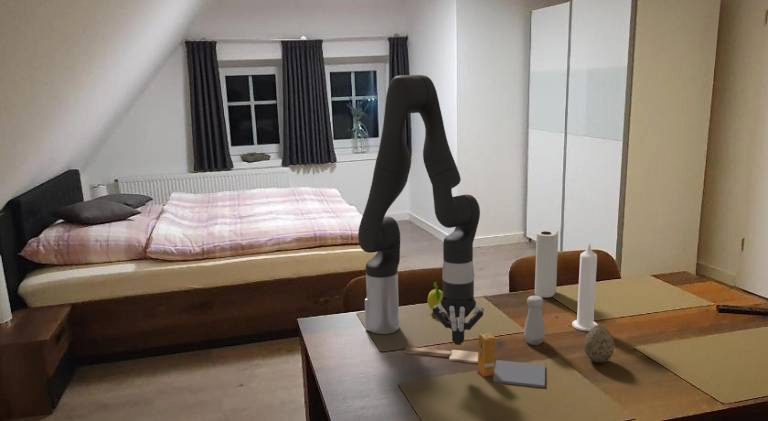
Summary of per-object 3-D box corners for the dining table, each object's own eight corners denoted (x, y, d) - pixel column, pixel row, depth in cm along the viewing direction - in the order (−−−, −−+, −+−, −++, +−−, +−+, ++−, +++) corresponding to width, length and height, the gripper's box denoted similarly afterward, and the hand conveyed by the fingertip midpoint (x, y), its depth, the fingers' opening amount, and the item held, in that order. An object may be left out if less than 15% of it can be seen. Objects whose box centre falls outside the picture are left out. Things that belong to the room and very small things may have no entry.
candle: (571, 329, 166) (575, 246, 160) (573, 320, 172) (577, 239, 166) (597, 333, 163) (602, 248, 157) (598, 323, 170) (603, 241, 164)
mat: (492, 381, 139) (492, 379, 139) (496, 362, 148) (496, 360, 148) (544, 387, 136) (544, 385, 136) (544, 367, 145) (545, 365, 145)
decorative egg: (577, 358, 149) (579, 322, 147) (598, 352, 152) (600, 317, 150) (597, 370, 143) (599, 333, 141) (619, 364, 146) (621, 327, 143)
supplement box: (495, 374, 142) (496, 337, 140) (483, 377, 141) (483, 339, 139) (489, 368, 145) (489, 331, 143) (476, 371, 144) (477, 334, 142)
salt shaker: (545, 347, 156) (547, 301, 153) (523, 345, 157) (524, 300, 154) (544, 337, 161) (545, 293, 158) (522, 336, 163) (524, 292, 160)
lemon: (433, 306, 186) (433, 276, 183) (449, 309, 182) (449, 279, 180) (422, 313, 180) (422, 283, 178) (438, 317, 177) (438, 286, 175)
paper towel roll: (535, 297, 190) (537, 235, 185) (533, 291, 196) (535, 230, 191) (558, 298, 189) (560, 235, 184) (556, 291, 194) (558, 230, 190)
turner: (404, 355, 153) (404, 352, 153) (408, 347, 158) (408, 343, 158) (480, 363, 148) (480, 360, 148) (482, 354, 153) (482, 351, 153)
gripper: (428, 280, 138) (429, 347, 142) (484, 284, 134) (483, 353, 138) (433, 270, 145) (434, 334, 149) (487, 273, 141) (486, 339, 145)
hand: (458, 343), depth 144 cm, fingers closed
